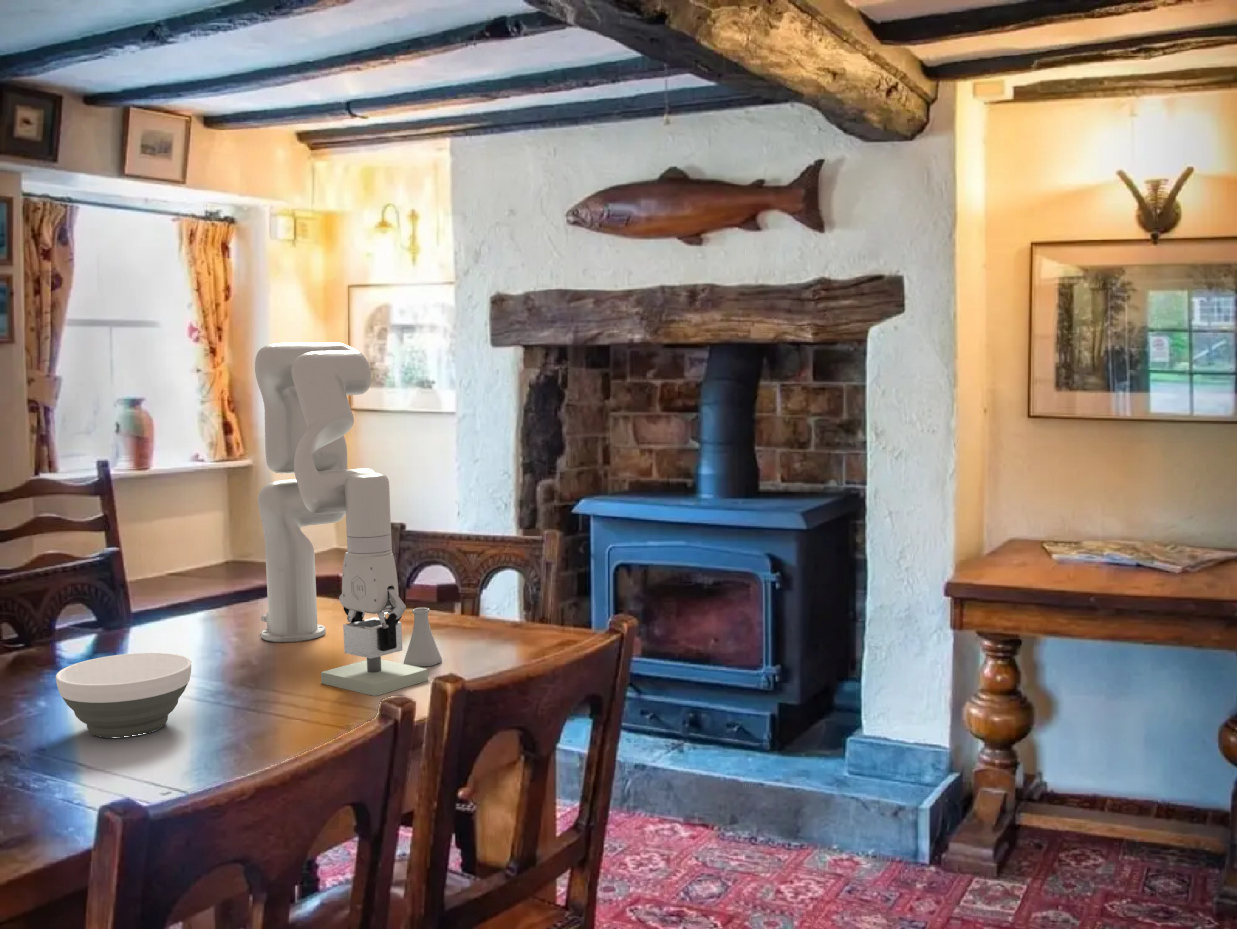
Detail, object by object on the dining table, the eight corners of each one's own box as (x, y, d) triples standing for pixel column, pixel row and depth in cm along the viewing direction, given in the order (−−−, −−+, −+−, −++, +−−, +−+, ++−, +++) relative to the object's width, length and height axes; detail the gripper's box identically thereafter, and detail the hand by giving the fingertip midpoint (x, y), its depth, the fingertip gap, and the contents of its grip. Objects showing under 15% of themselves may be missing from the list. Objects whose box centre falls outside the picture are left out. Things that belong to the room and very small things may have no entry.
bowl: (59, 756, 185) (55, 691, 184) (59, 720, 203) (55, 661, 202) (200, 736, 193) (197, 675, 192) (188, 704, 211) (185, 647, 210)
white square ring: (344, 653, 221) (343, 624, 221) (375, 645, 226) (374, 617, 226) (371, 658, 217) (370, 629, 216) (402, 650, 222) (401, 621, 222)
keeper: (321, 683, 222) (319, 638, 221) (374, 668, 231) (373, 625, 230) (374, 696, 213) (373, 649, 212) (428, 680, 223) (426, 635, 222)
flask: (434, 668, 231) (433, 614, 230) (396, 667, 232) (394, 613, 231) (448, 658, 238) (446, 605, 237) (411, 657, 239) (409, 604, 238)
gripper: (319, 543, 222) (324, 644, 224) (386, 552, 212) (390, 657, 213) (353, 538, 228) (357, 636, 230) (420, 546, 217) (424, 649, 219)
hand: (373, 645), depth 222 cm, fingers closed on white square ring, 7 cm apart
